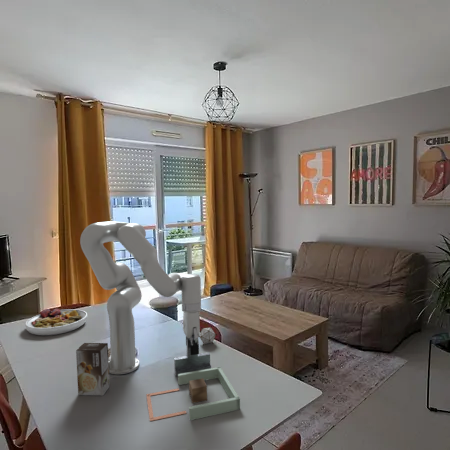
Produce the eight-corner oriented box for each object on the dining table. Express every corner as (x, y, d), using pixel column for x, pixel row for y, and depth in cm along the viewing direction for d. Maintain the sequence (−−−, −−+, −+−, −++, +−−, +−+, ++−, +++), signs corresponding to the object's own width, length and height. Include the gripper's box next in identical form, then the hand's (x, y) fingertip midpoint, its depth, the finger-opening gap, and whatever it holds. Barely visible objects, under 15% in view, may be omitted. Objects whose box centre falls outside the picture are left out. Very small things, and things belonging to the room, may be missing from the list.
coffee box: (110, 385, 115) (109, 342, 115) (102, 396, 109) (101, 350, 108) (85, 385, 116) (84, 342, 115) (76, 395, 109) (75, 350, 109)
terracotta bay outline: (149, 421, 96) (149, 420, 96) (146, 394, 109) (146, 394, 109) (186, 413, 99) (186, 412, 99) (178, 388, 113) (178, 388, 113)
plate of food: (99, 323, 179) (98, 309, 179) (46, 342, 154) (45, 326, 153) (67, 314, 195) (66, 301, 194) (14, 330, 169) (13, 316, 169)
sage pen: (190, 420, 96) (189, 409, 96) (178, 383, 116) (177, 374, 116) (240, 409, 101) (239, 398, 101) (220, 375, 121) (220, 366, 121)
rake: (211, 370, 125) (210, 338, 125) (175, 377, 121) (175, 343, 120) (208, 366, 129) (208, 335, 128) (174, 372, 125) (173, 339, 124)
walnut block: (192, 403, 105) (192, 388, 104) (189, 394, 109) (189, 380, 109) (207, 400, 106) (206, 385, 106) (203, 392, 111) (203, 378, 111)
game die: (210, 352, 149) (213, 341, 143) (194, 345, 150) (196, 333, 144) (217, 337, 156) (220, 326, 150) (201, 330, 157) (204, 318, 151)
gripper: (178, 300, 131) (179, 342, 132) (186, 314, 115) (187, 361, 116) (195, 299, 133) (196, 339, 134) (206, 311, 117) (207, 357, 118)
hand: (192, 349), depth 125 cm, fingers open, 8 cm apart
